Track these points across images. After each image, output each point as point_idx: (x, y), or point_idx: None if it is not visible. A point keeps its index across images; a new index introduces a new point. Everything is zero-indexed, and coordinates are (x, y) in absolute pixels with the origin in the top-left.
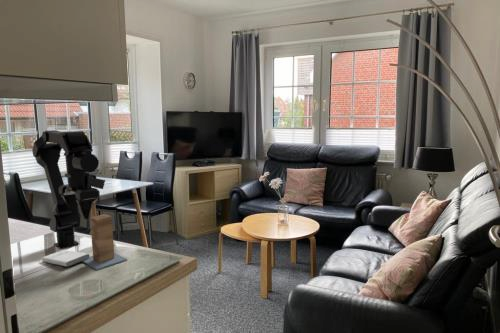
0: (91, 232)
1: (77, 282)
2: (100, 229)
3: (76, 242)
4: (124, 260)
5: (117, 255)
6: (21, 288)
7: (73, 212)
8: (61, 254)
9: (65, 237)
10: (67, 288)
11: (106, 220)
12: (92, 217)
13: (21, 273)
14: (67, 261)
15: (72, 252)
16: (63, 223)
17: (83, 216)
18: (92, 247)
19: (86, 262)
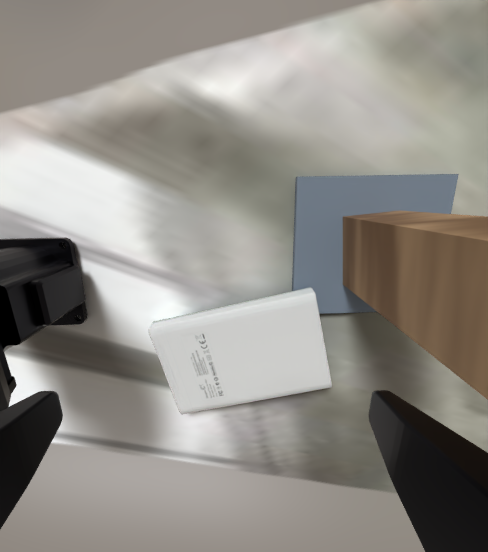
0: (432, 351)
1: (453, 382)
2: None
3: (51, 245)
4: (453, 189)
5: (382, 184)
6: (351, 483)
7: (42, 447)
8: (211, 364)
9: (54, 320)
10: (463, 412)
11: None
12: None
13: (241, 464)
14: (329, 382)
15: (228, 329)
16: (2, 389)
17: (389, 460)
18: (371, 305)
19: (342, 311)
